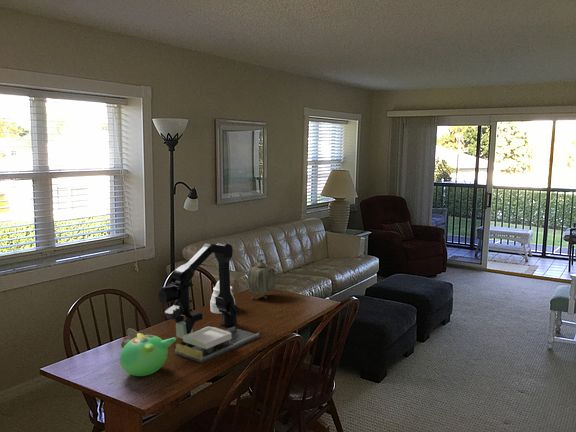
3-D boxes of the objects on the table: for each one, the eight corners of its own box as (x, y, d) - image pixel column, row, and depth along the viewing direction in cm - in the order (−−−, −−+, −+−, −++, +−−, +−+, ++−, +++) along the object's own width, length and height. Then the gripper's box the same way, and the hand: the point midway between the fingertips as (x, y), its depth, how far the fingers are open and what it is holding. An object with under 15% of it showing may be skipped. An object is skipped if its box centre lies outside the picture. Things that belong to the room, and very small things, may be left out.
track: (175, 353, 202) (174, 344, 201) (234, 329, 228) (233, 321, 227) (201, 363, 192) (200, 353, 191) (259, 337, 218) (259, 328, 218)
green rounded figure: (144, 360, 195) (141, 324, 194) (179, 366, 189) (177, 329, 187) (111, 379, 179) (109, 340, 177) (149, 387, 173) (147, 346, 171)
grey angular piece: (128, 352, 200) (121, 328, 203) (121, 356, 204) (113, 334, 206) (146, 346, 207) (139, 324, 210) (138, 351, 211) (131, 329, 213)
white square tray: (183, 348, 204) (183, 335, 203) (210, 337, 215) (210, 325, 215) (206, 356, 195) (206, 343, 194) (233, 344, 207) (233, 332, 206)
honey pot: (240, 310, 257) (239, 276, 255) (218, 315, 249) (217, 280, 247) (226, 304, 267) (225, 272, 265) (206, 309, 259) (204, 276, 257)
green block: (176, 336, 214) (175, 323, 213) (185, 333, 218) (184, 320, 217) (183, 339, 211) (183, 325, 210) (192, 335, 215) (192, 322, 214)
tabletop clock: (264, 293, 286) (263, 251, 283) (276, 296, 281) (275, 253, 278) (248, 300, 275) (247, 255, 272) (261, 302, 269) (259, 257, 266)
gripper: (153, 298, 212) (155, 334, 214) (182, 306, 200) (183, 343, 202) (174, 292, 220) (176, 326, 222) (202, 299, 209) (204, 335, 211)
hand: (184, 333), depth 214 cm, fingers closed on green block, 5 cm apart
